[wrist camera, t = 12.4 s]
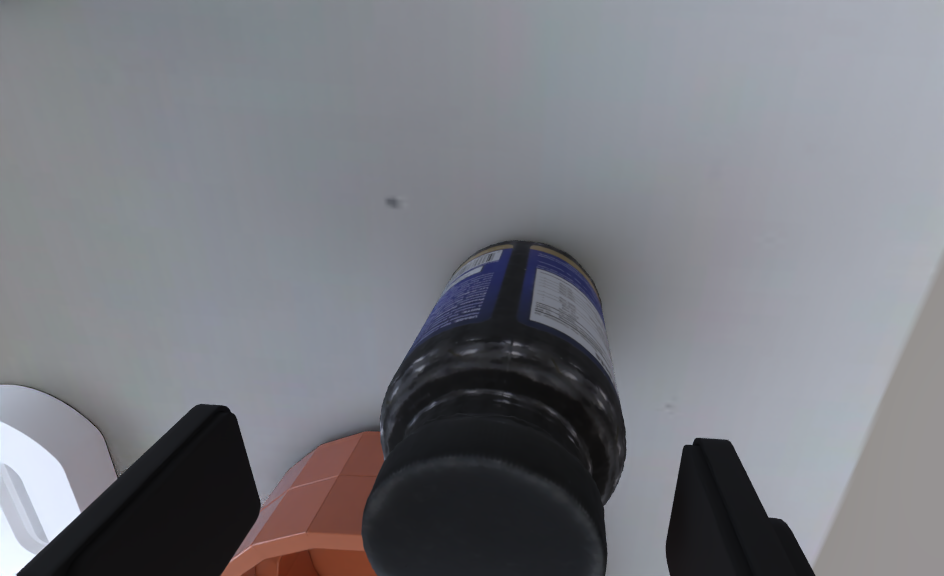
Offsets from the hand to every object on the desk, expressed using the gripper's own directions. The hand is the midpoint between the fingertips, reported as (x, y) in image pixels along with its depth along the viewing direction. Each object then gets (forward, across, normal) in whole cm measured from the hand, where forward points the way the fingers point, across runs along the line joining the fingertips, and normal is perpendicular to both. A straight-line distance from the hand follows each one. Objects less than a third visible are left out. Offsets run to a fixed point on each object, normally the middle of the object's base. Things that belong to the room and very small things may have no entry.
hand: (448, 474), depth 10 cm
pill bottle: (+10, -1, +1) cm, 10 cm away
